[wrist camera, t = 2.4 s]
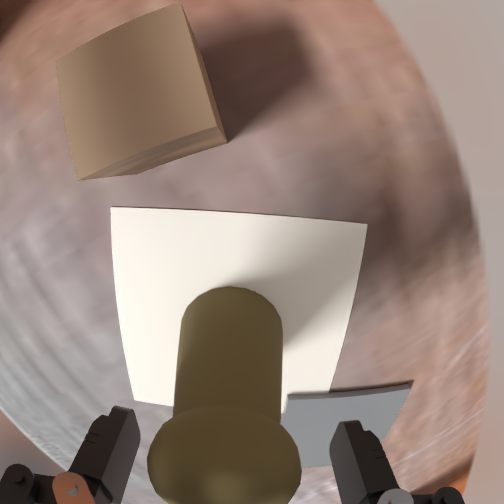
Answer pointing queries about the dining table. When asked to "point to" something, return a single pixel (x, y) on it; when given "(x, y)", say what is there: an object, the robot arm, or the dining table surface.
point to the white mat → (236, 275)
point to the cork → (227, 407)
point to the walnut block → (138, 97)
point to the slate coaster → (338, 417)
